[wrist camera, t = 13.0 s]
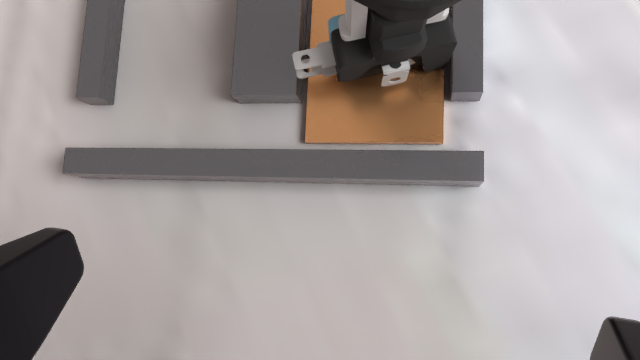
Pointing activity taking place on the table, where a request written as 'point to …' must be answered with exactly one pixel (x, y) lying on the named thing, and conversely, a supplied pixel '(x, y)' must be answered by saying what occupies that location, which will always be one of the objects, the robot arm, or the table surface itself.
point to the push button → (382, 40)
